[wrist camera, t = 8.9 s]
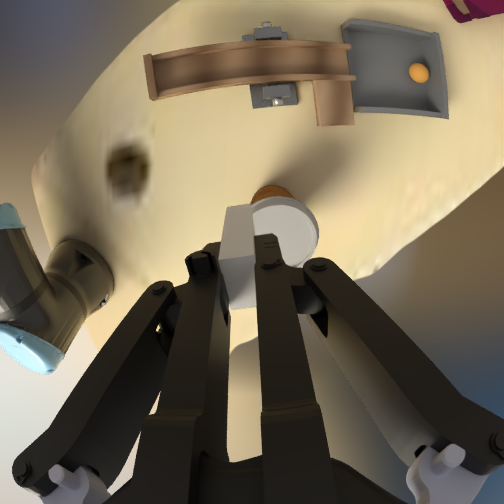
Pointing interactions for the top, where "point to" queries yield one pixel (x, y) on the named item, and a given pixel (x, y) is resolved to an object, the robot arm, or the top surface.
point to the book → (473, 9)
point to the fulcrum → (271, 91)
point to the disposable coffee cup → (285, 223)
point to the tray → (394, 69)
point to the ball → (419, 72)
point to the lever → (258, 71)
